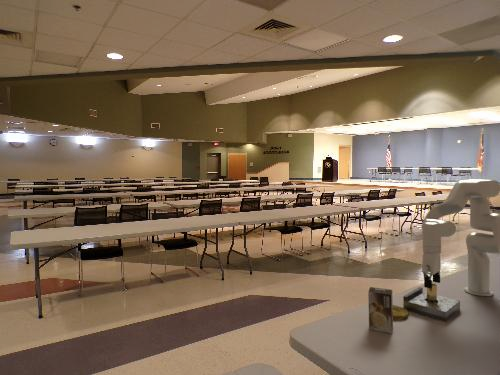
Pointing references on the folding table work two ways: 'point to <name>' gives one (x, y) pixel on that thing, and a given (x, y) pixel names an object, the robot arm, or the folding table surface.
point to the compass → (399, 313)
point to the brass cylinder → (432, 294)
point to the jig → (430, 305)
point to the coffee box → (380, 309)
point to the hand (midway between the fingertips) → (432, 284)
